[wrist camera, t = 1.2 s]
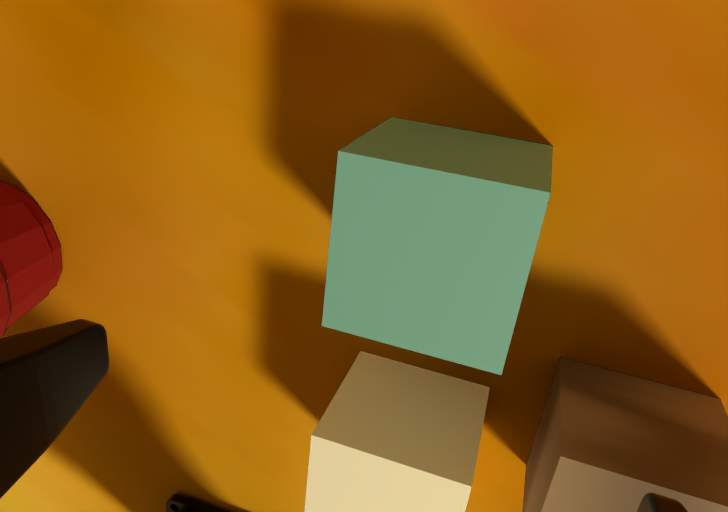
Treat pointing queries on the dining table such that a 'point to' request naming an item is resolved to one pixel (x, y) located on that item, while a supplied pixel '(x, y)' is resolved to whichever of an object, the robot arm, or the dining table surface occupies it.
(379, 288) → the teal block
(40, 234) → the plastic cup
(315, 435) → the cream block
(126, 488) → the dining table surface
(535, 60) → the dining table surface
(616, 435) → the walnut block
